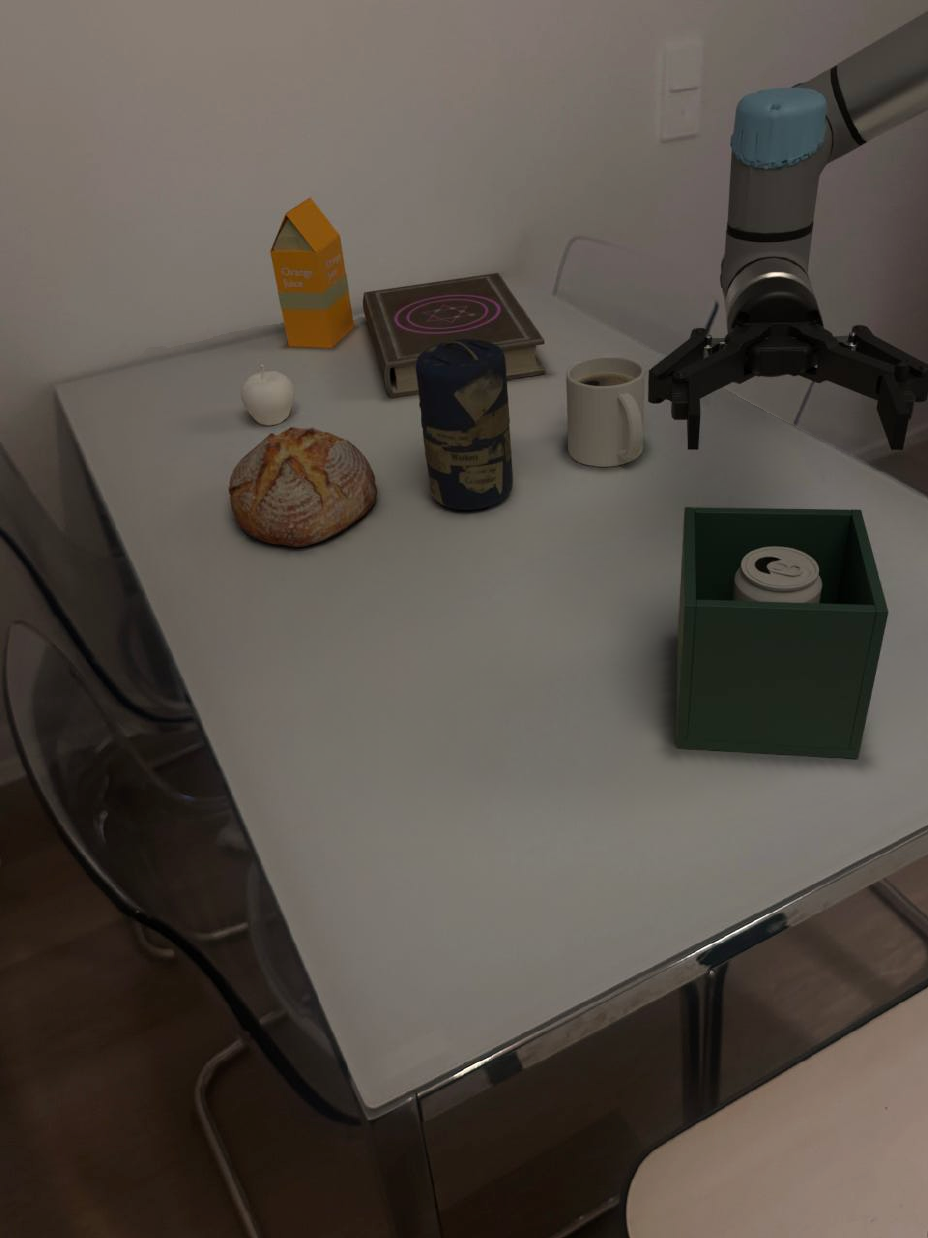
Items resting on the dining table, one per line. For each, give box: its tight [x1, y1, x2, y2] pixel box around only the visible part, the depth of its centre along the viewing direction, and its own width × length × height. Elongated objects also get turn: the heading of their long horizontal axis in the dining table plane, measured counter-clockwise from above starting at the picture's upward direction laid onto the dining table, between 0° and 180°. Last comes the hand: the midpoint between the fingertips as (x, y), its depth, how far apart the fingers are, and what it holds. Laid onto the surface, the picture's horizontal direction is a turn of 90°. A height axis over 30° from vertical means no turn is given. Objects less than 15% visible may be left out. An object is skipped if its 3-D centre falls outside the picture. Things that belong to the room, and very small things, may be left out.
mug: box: [565, 355, 646, 468], centre depth 116 cm, size 11×10×10 cm
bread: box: [228, 426, 378, 548], centre depth 112 cm, size 16×20×10 cm
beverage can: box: [732, 547, 822, 603], centre depth 79 cm, size 6×6×12 cm
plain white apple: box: [240, 363, 295, 427], centre depth 133 cm, size 7×7×8 cm
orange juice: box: [269, 196, 355, 349], centre depth 153 cm, size 8×9×20 cm
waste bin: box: [675, 506, 889, 760], centre depth 79 cm, size 14×14×14 cm
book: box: [362, 272, 547, 399], centre depth 149 cm, size 30×22×5 cm
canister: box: [416, 339, 514, 511], centre depth 109 cm, size 10×10×18 cm
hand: (795, 432), depth 69 cm, fingers open, 13 cm apart
